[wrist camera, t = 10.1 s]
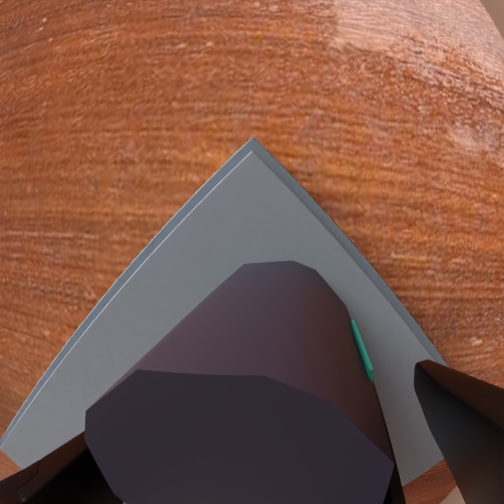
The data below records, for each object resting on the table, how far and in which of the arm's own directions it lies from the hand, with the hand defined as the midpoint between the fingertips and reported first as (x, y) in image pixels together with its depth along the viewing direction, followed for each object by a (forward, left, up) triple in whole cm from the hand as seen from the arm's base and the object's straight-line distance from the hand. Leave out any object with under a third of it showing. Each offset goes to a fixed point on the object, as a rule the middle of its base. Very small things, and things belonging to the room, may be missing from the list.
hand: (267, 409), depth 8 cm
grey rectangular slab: (+7, +10, -7) cm, 14 cm away
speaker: (0, 0, -4) cm, 5 cm away
